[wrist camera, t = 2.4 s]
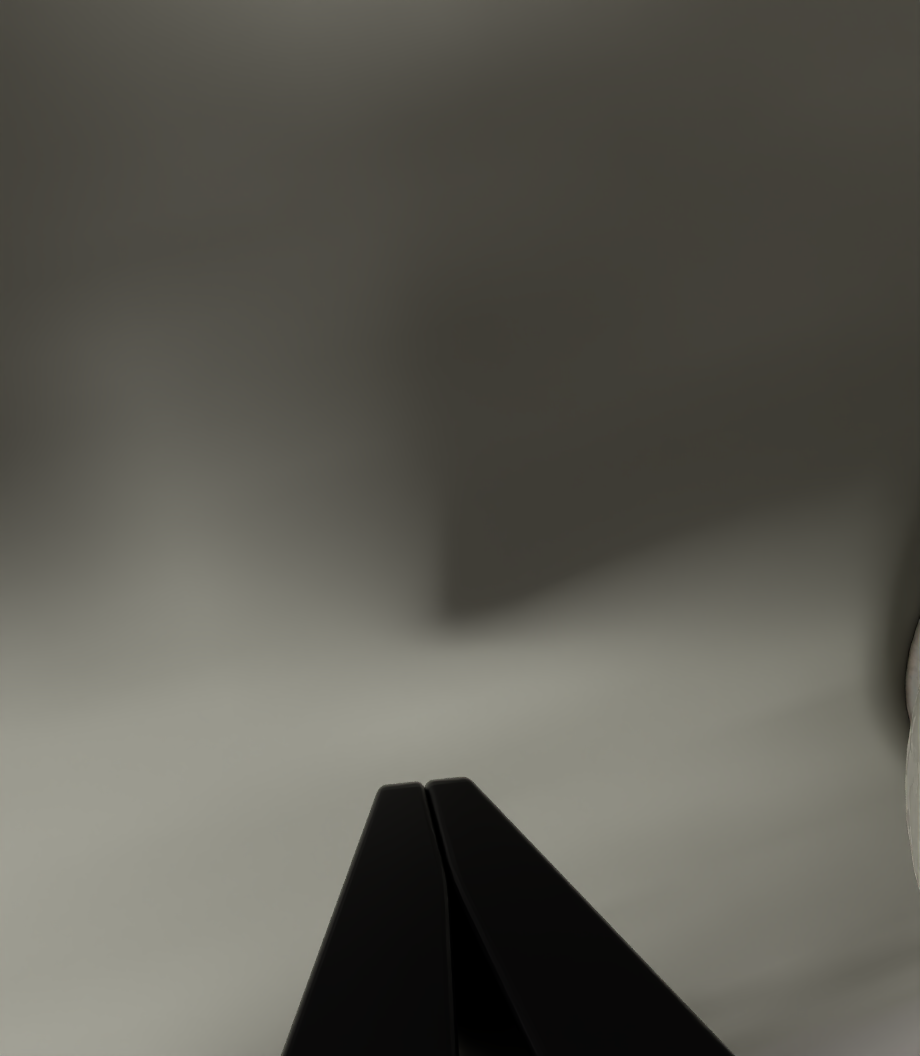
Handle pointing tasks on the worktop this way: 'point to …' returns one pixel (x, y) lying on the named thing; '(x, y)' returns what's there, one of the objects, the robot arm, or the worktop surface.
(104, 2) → the worktop surface
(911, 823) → the lidded jar
